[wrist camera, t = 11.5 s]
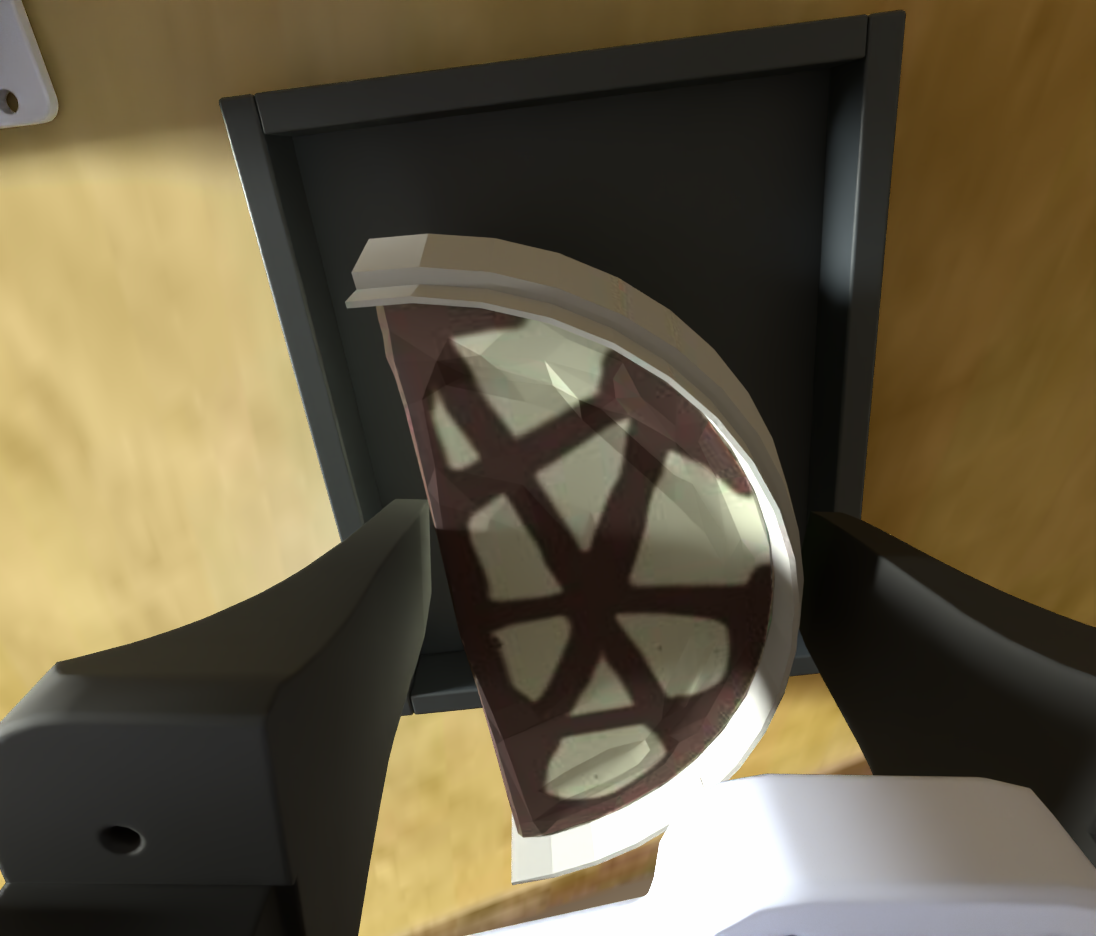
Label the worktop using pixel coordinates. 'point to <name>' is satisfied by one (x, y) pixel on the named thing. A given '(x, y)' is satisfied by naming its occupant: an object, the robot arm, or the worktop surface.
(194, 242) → the worktop surface
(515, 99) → the tray
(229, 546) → the worktop surface
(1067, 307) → the worktop surface
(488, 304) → the food container
